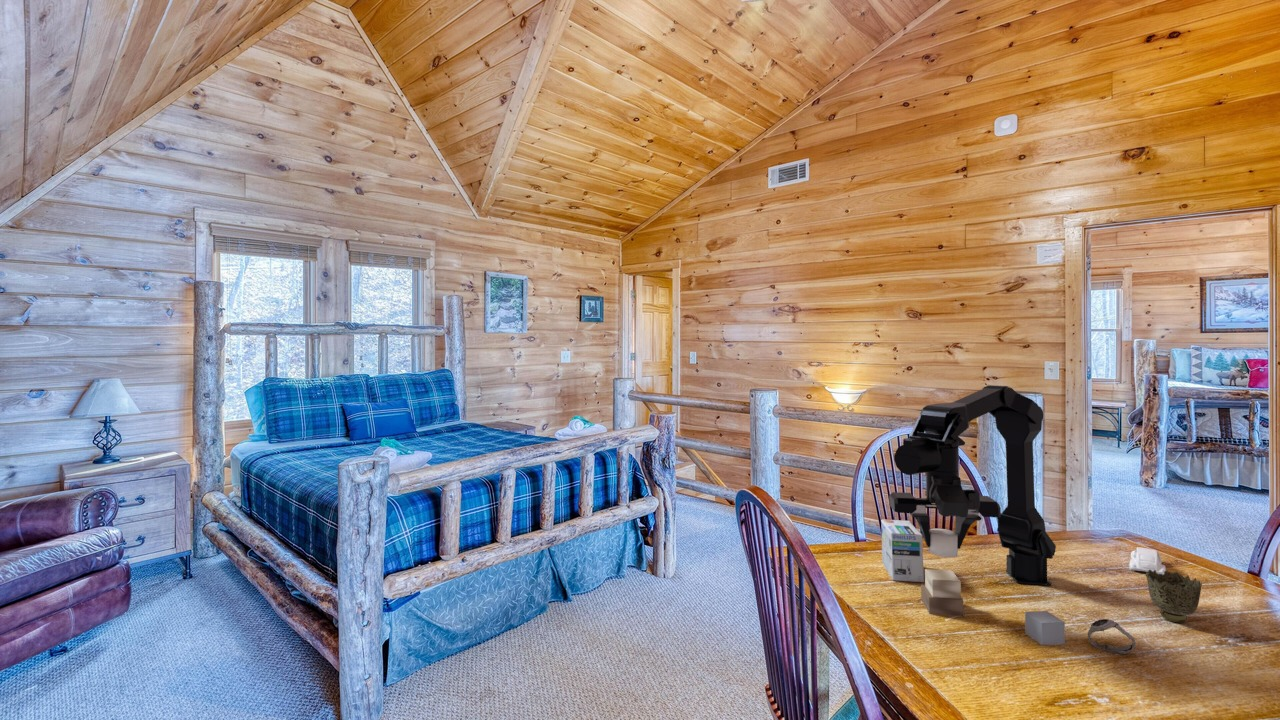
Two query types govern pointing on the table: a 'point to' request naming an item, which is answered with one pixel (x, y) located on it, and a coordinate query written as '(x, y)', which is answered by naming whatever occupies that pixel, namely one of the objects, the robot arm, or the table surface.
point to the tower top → (943, 584)
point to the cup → (1174, 594)
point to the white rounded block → (1146, 561)
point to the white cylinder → (943, 542)
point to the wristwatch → (1102, 626)
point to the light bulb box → (902, 550)
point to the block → (1045, 628)
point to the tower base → (941, 604)
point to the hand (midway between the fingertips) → (942, 547)
